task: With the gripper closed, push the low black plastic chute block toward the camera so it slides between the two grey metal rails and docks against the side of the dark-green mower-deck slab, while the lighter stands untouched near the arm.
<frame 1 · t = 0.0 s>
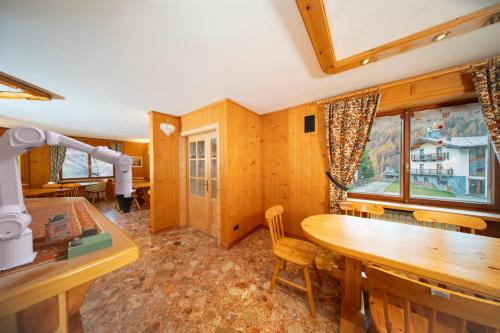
hand: (124, 211, 70), 10 cm above the table, fingers open, 7 cm apart
chute: (89, 237, 67), on the table
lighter: (58, 237, 67), on the table
deck: (91, 248, 57), on the table
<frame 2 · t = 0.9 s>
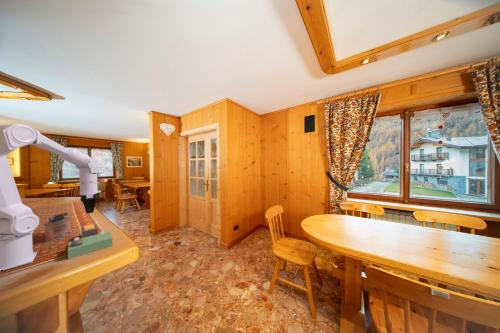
hand: (89, 211, 72), 9 cm above the table, fingers open, 7 cm apart
nothing on the table moved.
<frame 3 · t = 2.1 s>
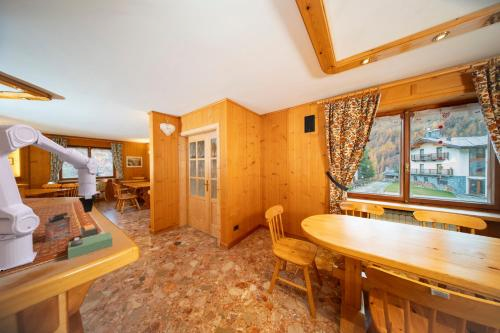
hand: (88, 212, 72), 9 cm above the table, fingers closed
nothing on the table moved.
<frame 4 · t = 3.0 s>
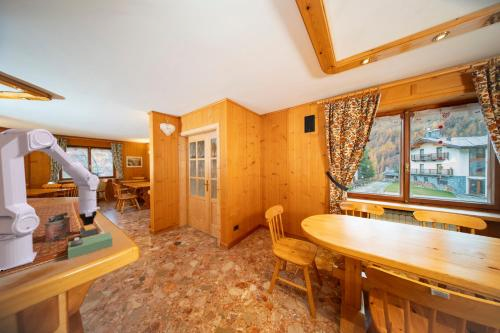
hand: (88, 228, 72), 1 cm above the table, fingers closed
nothing on the table moved.
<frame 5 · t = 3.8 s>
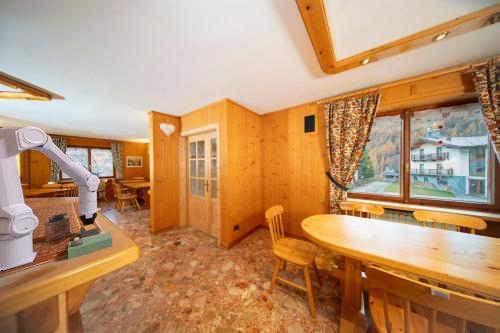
hand: (88, 230, 70), 1 cm above the table, fingers closed
chute: (89, 237, 67), on the table, touching gripper
everything else where it was.
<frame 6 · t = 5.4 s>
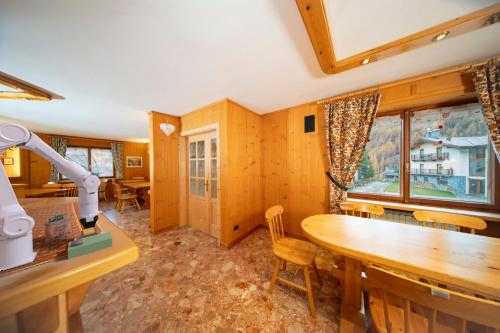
hand: (89, 234, 66), 1 cm above the table, fingers closed
chute: (89, 241, 62), on the table, touching gripper
everything else where it was.
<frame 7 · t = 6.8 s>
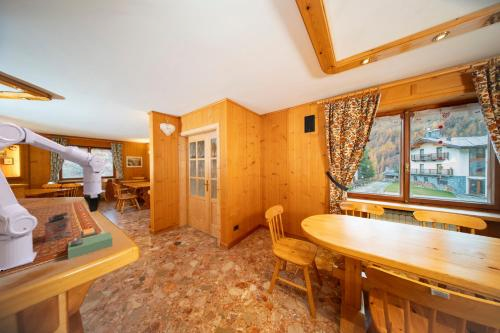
hand: (93, 211, 70), 10 cm above the table, fingers closed
chute: (89, 242, 62), on the table
everything else where it was.
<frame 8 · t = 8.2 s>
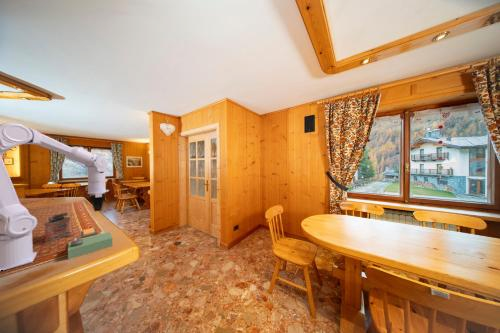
hand: (97, 210, 72), 10 cm above the table, fingers closed
nothing on the table moved.
at the end: chute 0.5 cm from the target spot, on the table; chute tilted 0°; chute moved 6.2 cm from its start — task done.
